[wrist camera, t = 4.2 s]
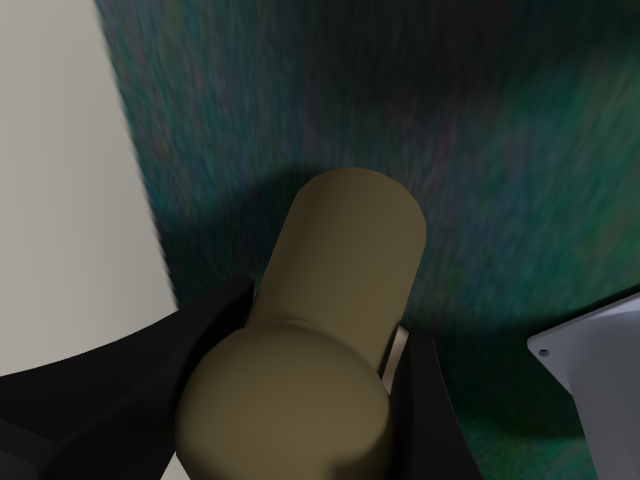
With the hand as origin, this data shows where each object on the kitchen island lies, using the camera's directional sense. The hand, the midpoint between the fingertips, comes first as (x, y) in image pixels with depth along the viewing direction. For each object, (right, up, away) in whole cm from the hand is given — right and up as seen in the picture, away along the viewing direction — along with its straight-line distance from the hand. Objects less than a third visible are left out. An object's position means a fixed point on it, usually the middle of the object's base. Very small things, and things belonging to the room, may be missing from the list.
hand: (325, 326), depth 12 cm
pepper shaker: (+1, +3, +5) cm, 6 cm away
